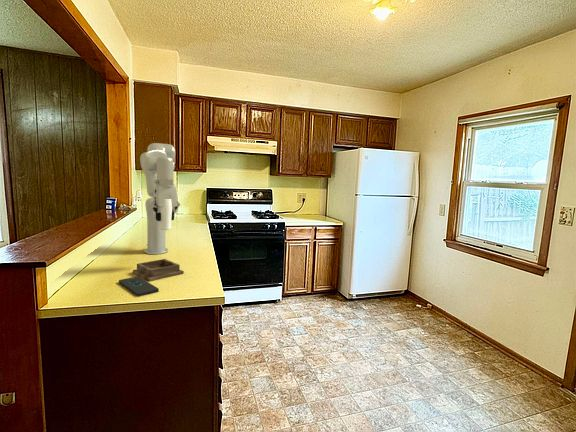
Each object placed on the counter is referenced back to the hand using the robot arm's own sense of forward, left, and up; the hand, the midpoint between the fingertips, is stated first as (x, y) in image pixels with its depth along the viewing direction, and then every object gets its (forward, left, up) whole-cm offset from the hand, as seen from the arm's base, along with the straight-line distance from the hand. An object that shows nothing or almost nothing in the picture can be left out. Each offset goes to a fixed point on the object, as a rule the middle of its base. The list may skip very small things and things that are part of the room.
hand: (165, 220), depth 149 cm
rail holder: (+8, -8, -23) cm, 26 cm away
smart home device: (+19, -22, -24) cm, 37 cm away
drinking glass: (0, 0, -5) cm, 5 cm away
